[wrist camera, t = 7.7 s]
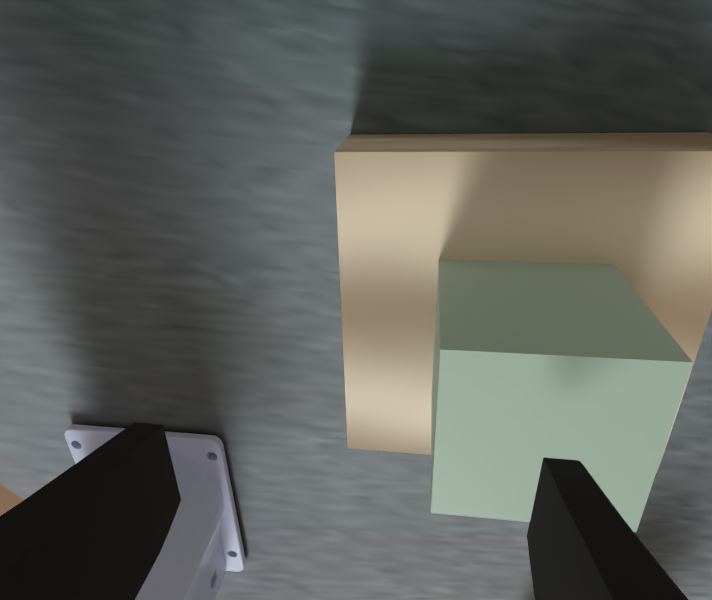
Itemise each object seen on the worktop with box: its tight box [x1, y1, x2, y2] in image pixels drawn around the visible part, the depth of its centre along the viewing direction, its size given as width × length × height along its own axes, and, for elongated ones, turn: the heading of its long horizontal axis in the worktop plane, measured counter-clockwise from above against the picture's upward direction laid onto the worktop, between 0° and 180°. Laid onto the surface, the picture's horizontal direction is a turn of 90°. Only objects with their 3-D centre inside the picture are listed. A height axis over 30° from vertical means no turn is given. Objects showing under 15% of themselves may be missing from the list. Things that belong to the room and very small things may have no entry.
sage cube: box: [431, 260, 693, 532], centre depth 14 cm, size 5×5×5 cm
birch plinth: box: [334, 132, 712, 472], centre depth 17 cm, size 11×11×3 cm
